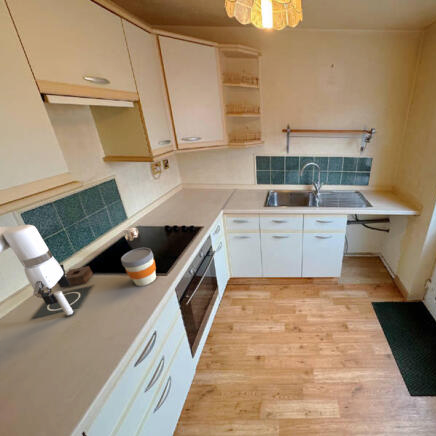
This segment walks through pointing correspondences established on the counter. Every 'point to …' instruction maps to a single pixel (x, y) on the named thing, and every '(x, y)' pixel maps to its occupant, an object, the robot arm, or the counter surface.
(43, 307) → the slate board
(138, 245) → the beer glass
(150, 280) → the reusable coffee cup
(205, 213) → the counter surface
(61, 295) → the marker
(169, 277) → the counter surface
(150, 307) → the counter surface
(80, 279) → the holder
